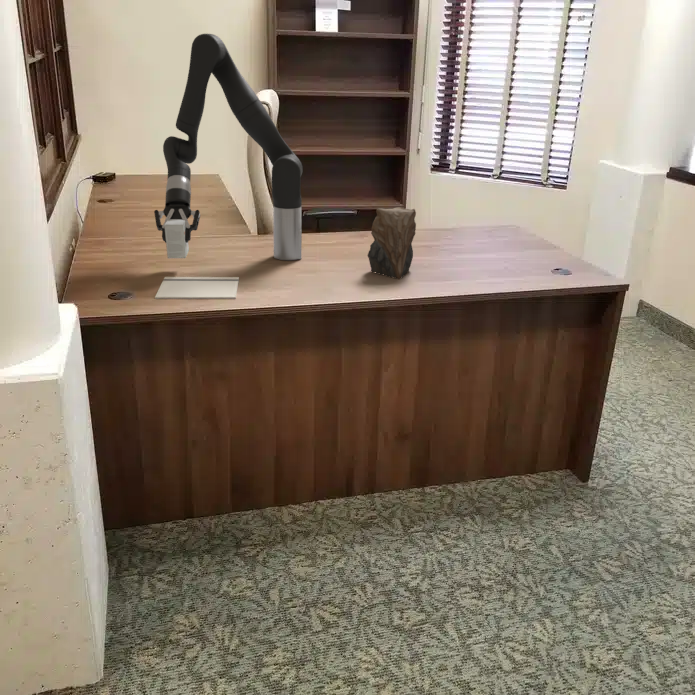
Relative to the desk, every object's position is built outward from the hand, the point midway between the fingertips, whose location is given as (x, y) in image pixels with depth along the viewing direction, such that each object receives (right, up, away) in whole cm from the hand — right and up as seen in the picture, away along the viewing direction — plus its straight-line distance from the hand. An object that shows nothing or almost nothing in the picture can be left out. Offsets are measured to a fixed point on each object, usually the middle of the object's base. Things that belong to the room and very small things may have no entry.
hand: (176, 241), depth 207 cm
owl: (+66, -8, +12) cm, 68 cm away
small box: (0, -4, +4) cm, 5 cm away
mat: (+9, -15, -8) cm, 19 cm away
